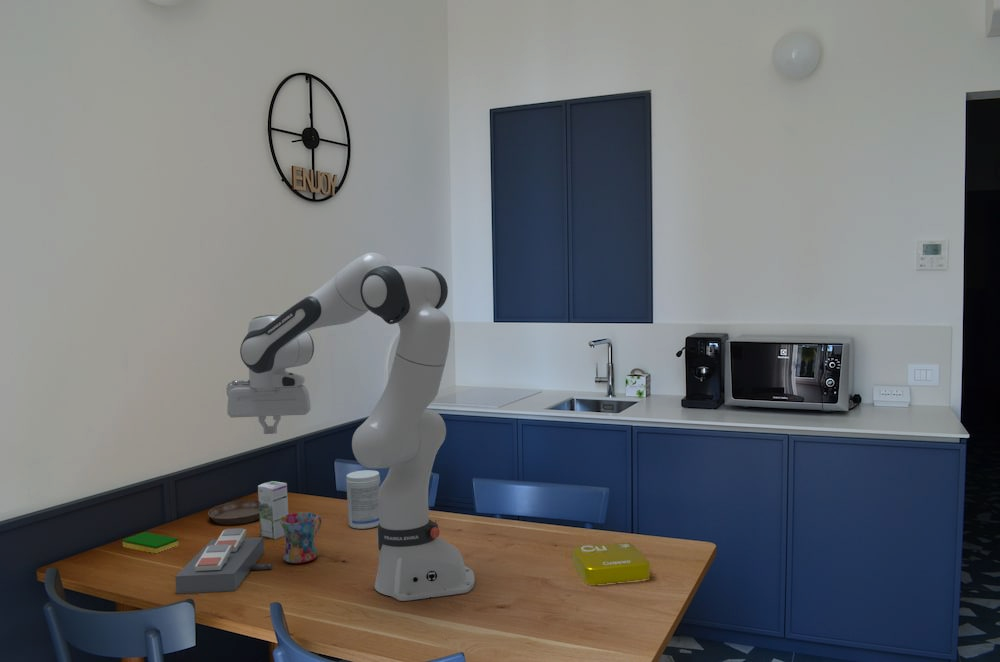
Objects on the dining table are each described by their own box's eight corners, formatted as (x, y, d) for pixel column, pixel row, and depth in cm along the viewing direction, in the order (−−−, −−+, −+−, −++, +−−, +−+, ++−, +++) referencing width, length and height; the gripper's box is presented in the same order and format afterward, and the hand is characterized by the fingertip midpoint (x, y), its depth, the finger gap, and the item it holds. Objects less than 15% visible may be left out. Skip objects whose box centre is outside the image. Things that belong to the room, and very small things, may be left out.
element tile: (587, 588, 166) (586, 567, 166) (570, 564, 181) (570, 544, 180) (652, 582, 168) (652, 561, 168) (631, 559, 183) (630, 539, 183)
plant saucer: (222, 531, 214) (222, 521, 214) (199, 518, 227) (198, 508, 227) (281, 517, 226) (280, 507, 226) (255, 506, 239) (255, 496, 239)
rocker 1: (232, 553, 181) (231, 543, 180) (220, 573, 172) (219, 563, 171) (208, 554, 180) (207, 545, 180) (195, 574, 172) (194, 565, 171)
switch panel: (284, 551, 195) (283, 536, 195) (258, 589, 170) (257, 572, 170) (212, 554, 194) (212, 539, 194) (176, 593, 169) (175, 576, 169)
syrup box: (290, 533, 209) (288, 482, 208) (273, 540, 204) (271, 487, 203) (276, 530, 212) (273, 479, 212) (259, 537, 207) (256, 484, 207)
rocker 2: (246, 536, 193) (245, 528, 192) (236, 554, 184) (235, 545, 183) (224, 537, 192) (223, 529, 192) (213, 556, 184) (212, 547, 183)
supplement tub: (389, 524, 215) (387, 473, 214) (361, 532, 209) (358, 479, 208) (369, 517, 222) (367, 468, 221) (341, 525, 216) (339, 474, 215)
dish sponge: (156, 555, 196) (155, 546, 196) (122, 548, 203) (121, 539, 203) (179, 547, 203) (179, 538, 202) (145, 540, 209) (145, 531, 209)
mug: (300, 568, 182) (298, 525, 182) (273, 562, 187) (271, 520, 187) (335, 553, 193) (333, 512, 192) (309, 547, 198) (307, 507, 197)
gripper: (222, 382, 187) (224, 437, 188) (305, 379, 188) (307, 434, 189) (229, 379, 194) (232, 432, 194) (310, 376, 195) (312, 429, 195)
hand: (270, 433), depth 192 cm, fingers closed
